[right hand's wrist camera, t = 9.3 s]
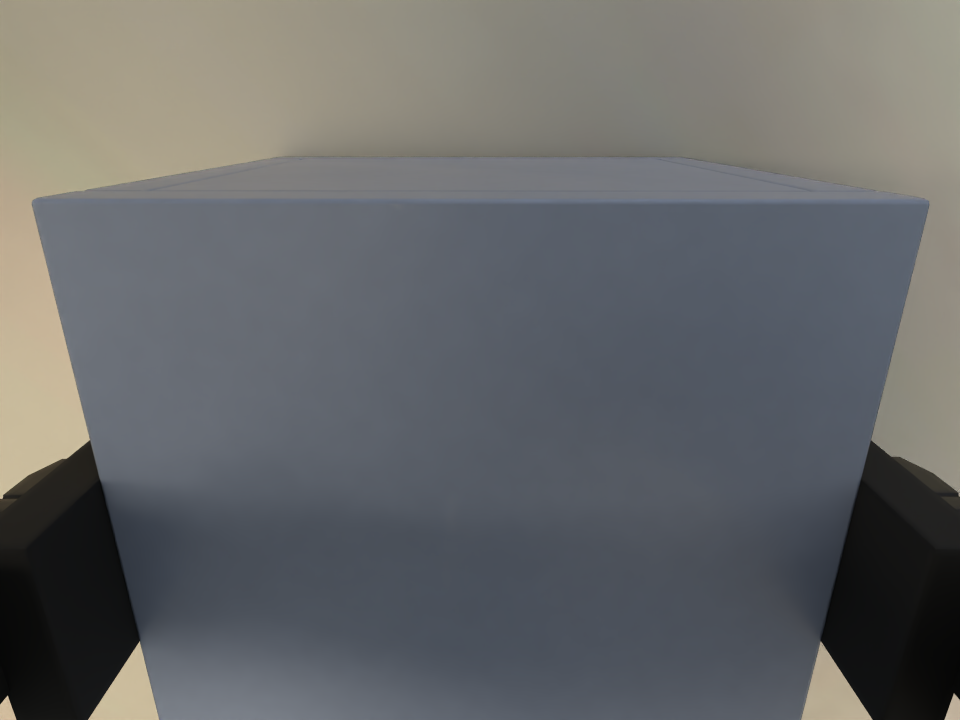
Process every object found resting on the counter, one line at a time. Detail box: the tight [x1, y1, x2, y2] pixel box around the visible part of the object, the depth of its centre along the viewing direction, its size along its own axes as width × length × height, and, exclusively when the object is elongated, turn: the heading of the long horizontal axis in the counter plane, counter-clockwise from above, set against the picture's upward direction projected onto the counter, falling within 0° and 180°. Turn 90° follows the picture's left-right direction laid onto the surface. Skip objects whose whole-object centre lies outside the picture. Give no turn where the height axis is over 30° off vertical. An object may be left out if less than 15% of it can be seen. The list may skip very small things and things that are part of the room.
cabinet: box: [32, 157, 929, 720], centre depth 15 cm, size 20×10×9 cm, turn 0°
